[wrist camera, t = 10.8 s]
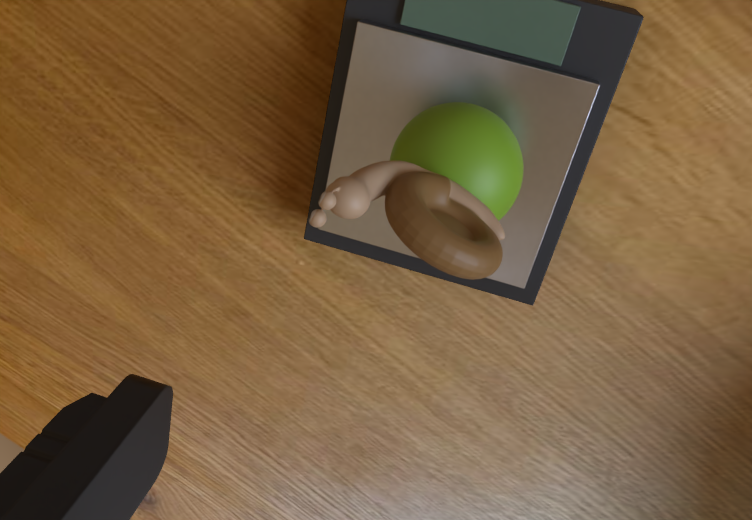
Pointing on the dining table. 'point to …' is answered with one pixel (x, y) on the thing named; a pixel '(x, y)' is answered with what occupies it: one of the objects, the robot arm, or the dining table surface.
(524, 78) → the scale platter
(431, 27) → the scale
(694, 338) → the dining table surface
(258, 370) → the dining table surface
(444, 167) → the snail figurine
